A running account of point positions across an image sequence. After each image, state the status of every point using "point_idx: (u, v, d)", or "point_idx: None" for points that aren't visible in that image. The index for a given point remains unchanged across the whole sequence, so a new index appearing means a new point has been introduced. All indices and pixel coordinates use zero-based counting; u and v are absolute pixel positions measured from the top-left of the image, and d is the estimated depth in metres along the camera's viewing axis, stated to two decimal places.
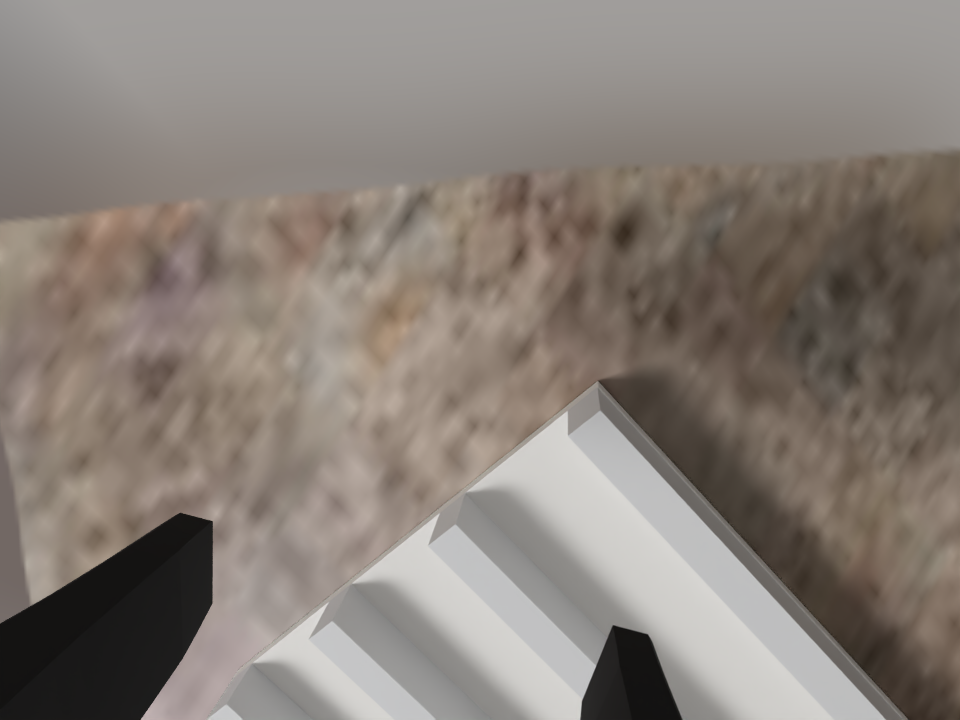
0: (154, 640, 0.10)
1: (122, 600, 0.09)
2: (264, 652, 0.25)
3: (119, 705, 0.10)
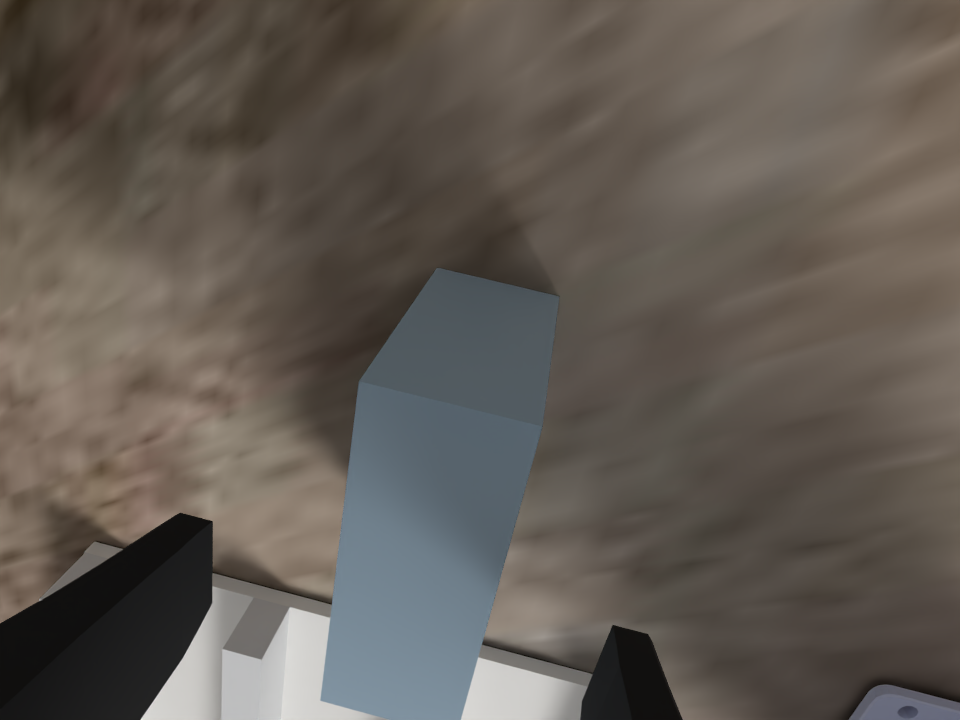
0: (154, 640, 0.10)
1: (122, 600, 0.09)
2: None
3: (119, 705, 0.10)
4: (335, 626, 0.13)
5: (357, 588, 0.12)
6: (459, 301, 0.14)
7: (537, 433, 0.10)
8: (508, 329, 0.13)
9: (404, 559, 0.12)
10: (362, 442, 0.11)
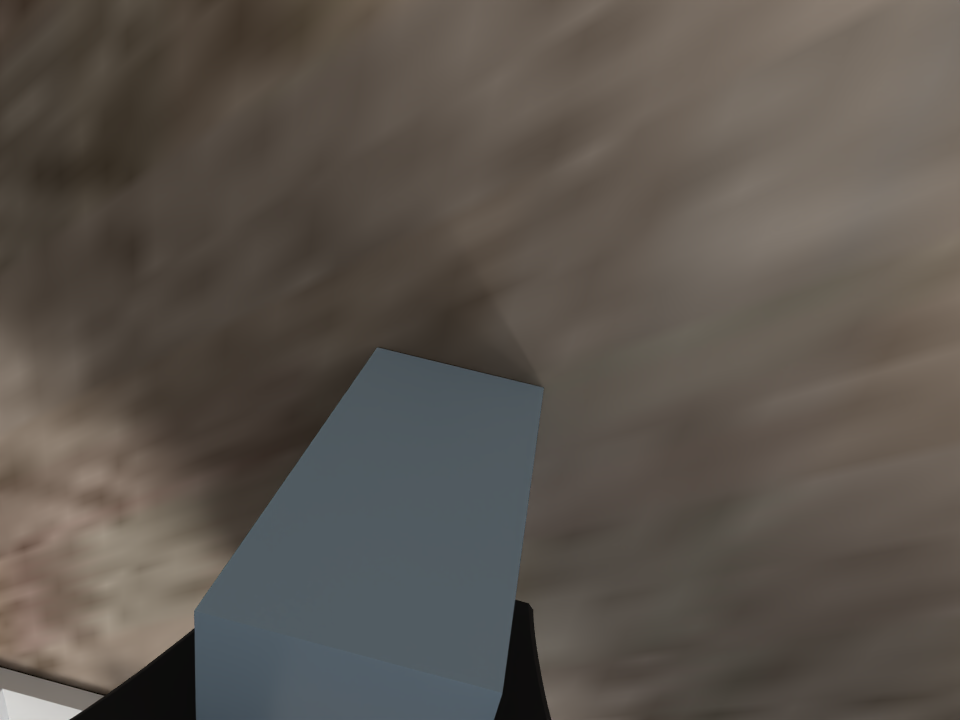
0: None
1: None
2: None
3: None
4: None
5: None
6: (398, 410, 0.10)
7: (494, 702, 0.06)
8: (464, 462, 0.09)
9: None
10: (211, 693, 0.07)
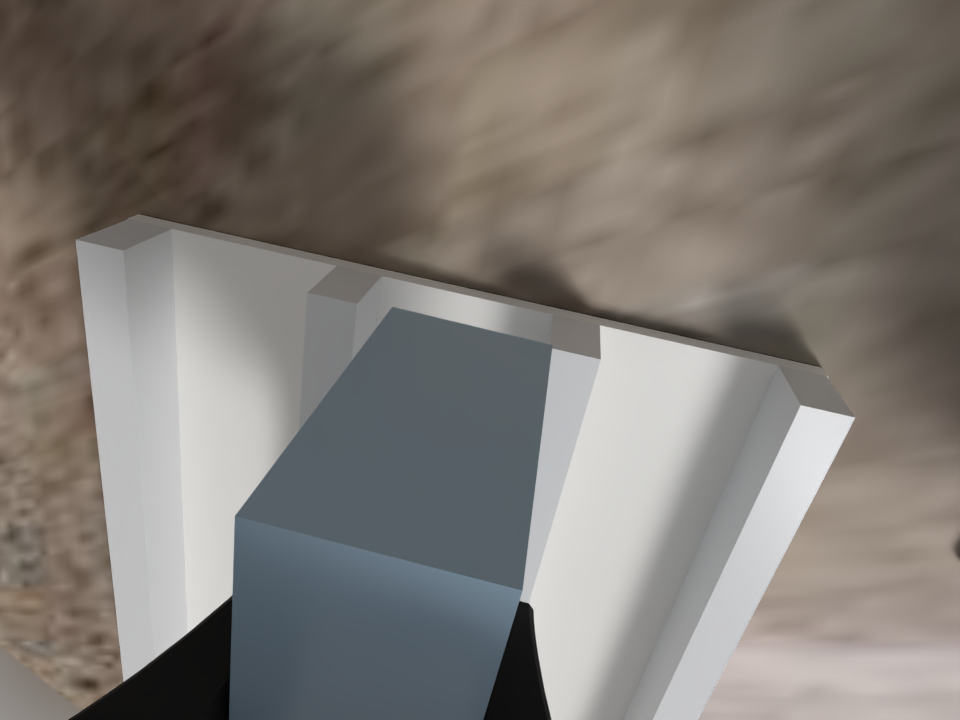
0: None
1: None
2: None
3: None
4: None
5: None
6: (415, 360, 0.10)
7: (514, 600, 0.07)
8: (480, 404, 0.10)
9: None
10: (247, 601, 0.07)
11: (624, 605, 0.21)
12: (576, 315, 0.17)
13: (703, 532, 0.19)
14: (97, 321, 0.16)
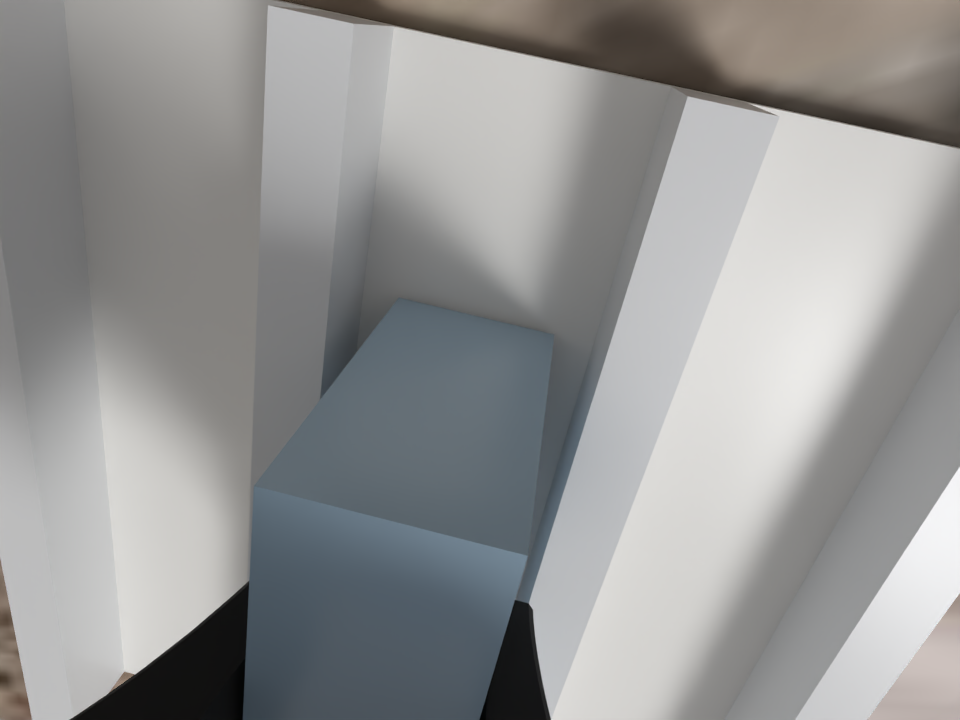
0: None
1: None
2: None
3: None
4: None
5: None
6: (422, 346, 0.11)
7: (520, 565, 0.07)
8: (485, 388, 0.10)
9: None
10: (265, 569, 0.08)
11: (736, 570, 0.14)
12: (706, 93, 0.11)
13: (871, 457, 0.13)
14: None
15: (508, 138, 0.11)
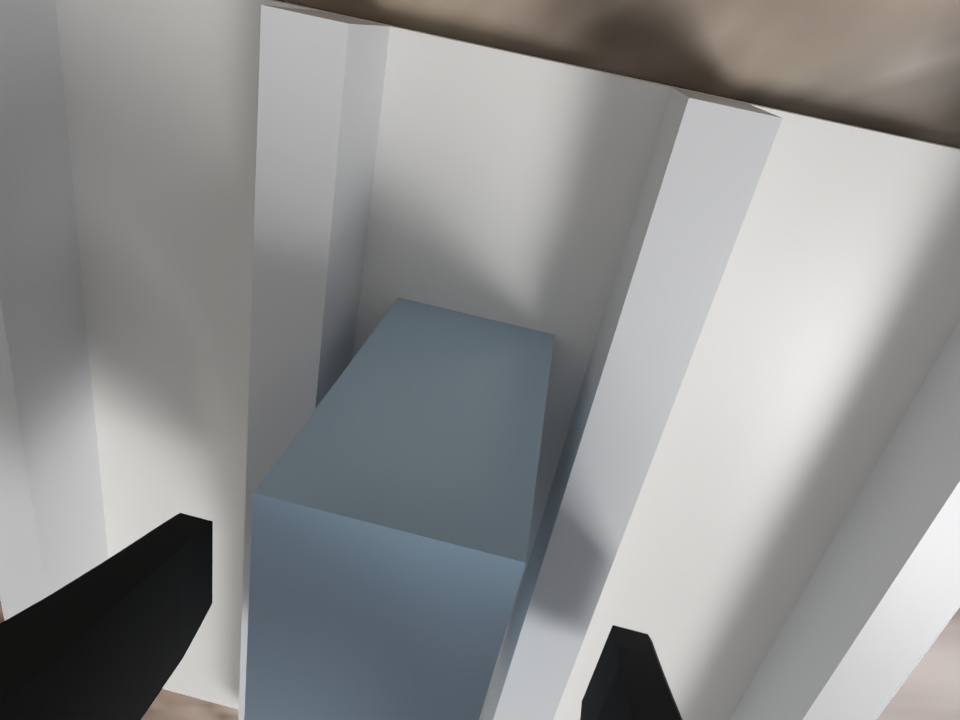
0: (154, 640, 0.10)
1: (122, 600, 0.09)
2: None
3: (119, 705, 0.10)
4: None
5: None
6: (421, 348, 0.11)
7: (518, 572, 0.07)
8: (484, 390, 0.10)
9: None
10: (264, 574, 0.08)
11: (737, 576, 0.14)
12: (706, 94, 0.10)
13: (874, 462, 0.12)
14: None
15: (506, 140, 0.11)
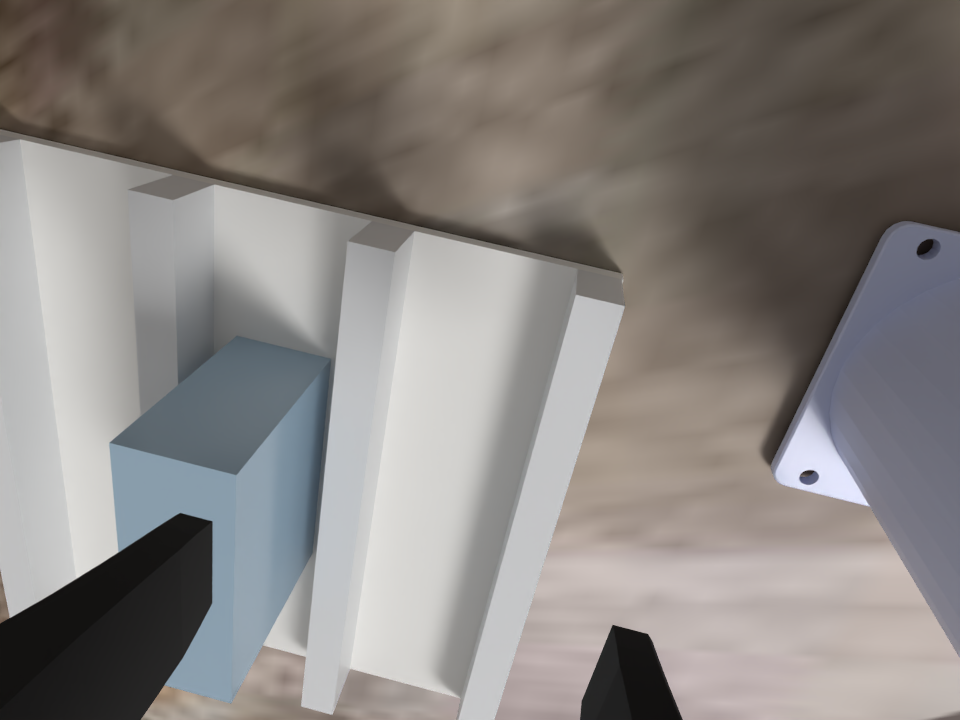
0: (154, 640, 0.10)
1: (122, 600, 0.09)
2: (443, 691, 0.26)
3: (119, 705, 0.10)
4: None
5: None
6: (235, 368, 0.18)
7: (233, 480, 0.15)
8: (262, 393, 0.18)
9: None
10: (119, 484, 0.15)
11: (467, 512, 0.22)
12: (396, 223, 0.18)
13: (530, 437, 0.20)
14: None
15: (286, 247, 0.19)
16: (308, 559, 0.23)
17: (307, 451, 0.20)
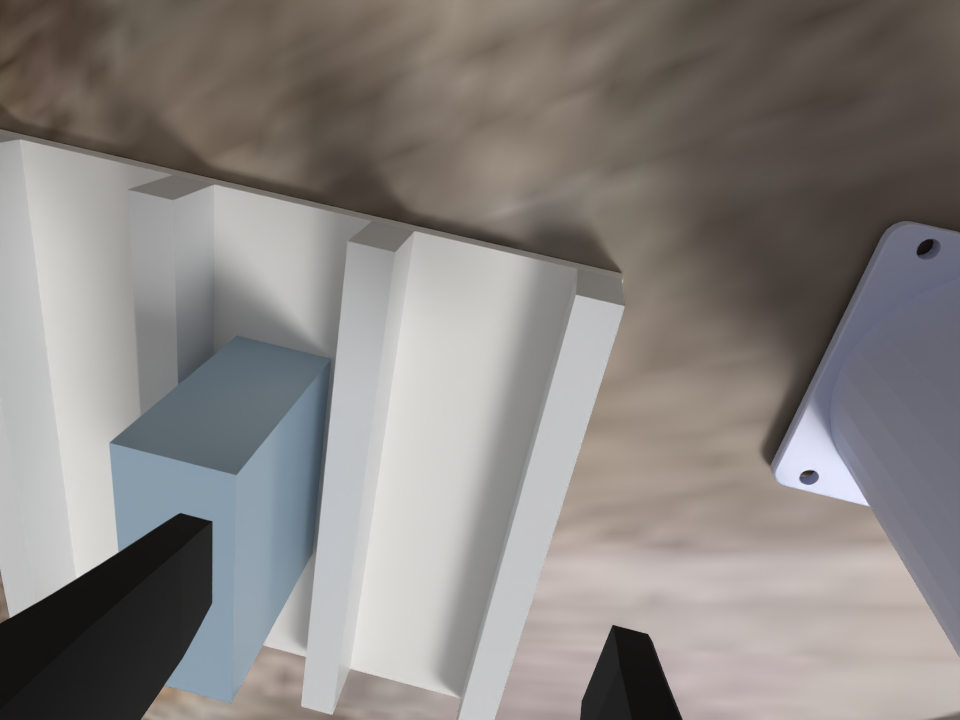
0: (154, 640, 0.10)
1: (122, 600, 0.09)
2: (443, 691, 0.26)
3: (119, 705, 0.10)
4: None
5: None
6: (235, 368, 0.18)
7: (233, 480, 0.15)
8: (262, 393, 0.18)
9: None
10: (119, 484, 0.15)
11: (467, 512, 0.22)
12: (396, 223, 0.18)
13: (530, 437, 0.20)
14: None
15: (286, 247, 0.19)
16: (308, 559, 0.23)
17: (307, 451, 0.20)
